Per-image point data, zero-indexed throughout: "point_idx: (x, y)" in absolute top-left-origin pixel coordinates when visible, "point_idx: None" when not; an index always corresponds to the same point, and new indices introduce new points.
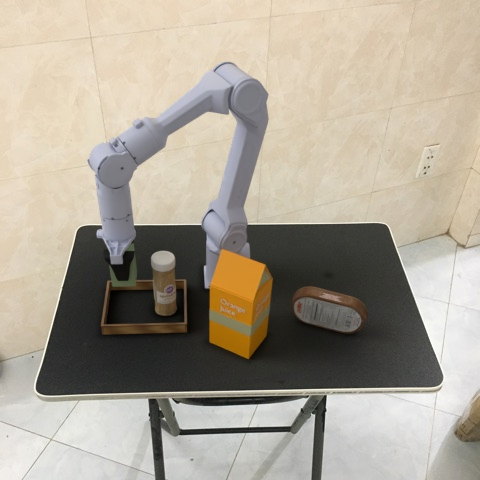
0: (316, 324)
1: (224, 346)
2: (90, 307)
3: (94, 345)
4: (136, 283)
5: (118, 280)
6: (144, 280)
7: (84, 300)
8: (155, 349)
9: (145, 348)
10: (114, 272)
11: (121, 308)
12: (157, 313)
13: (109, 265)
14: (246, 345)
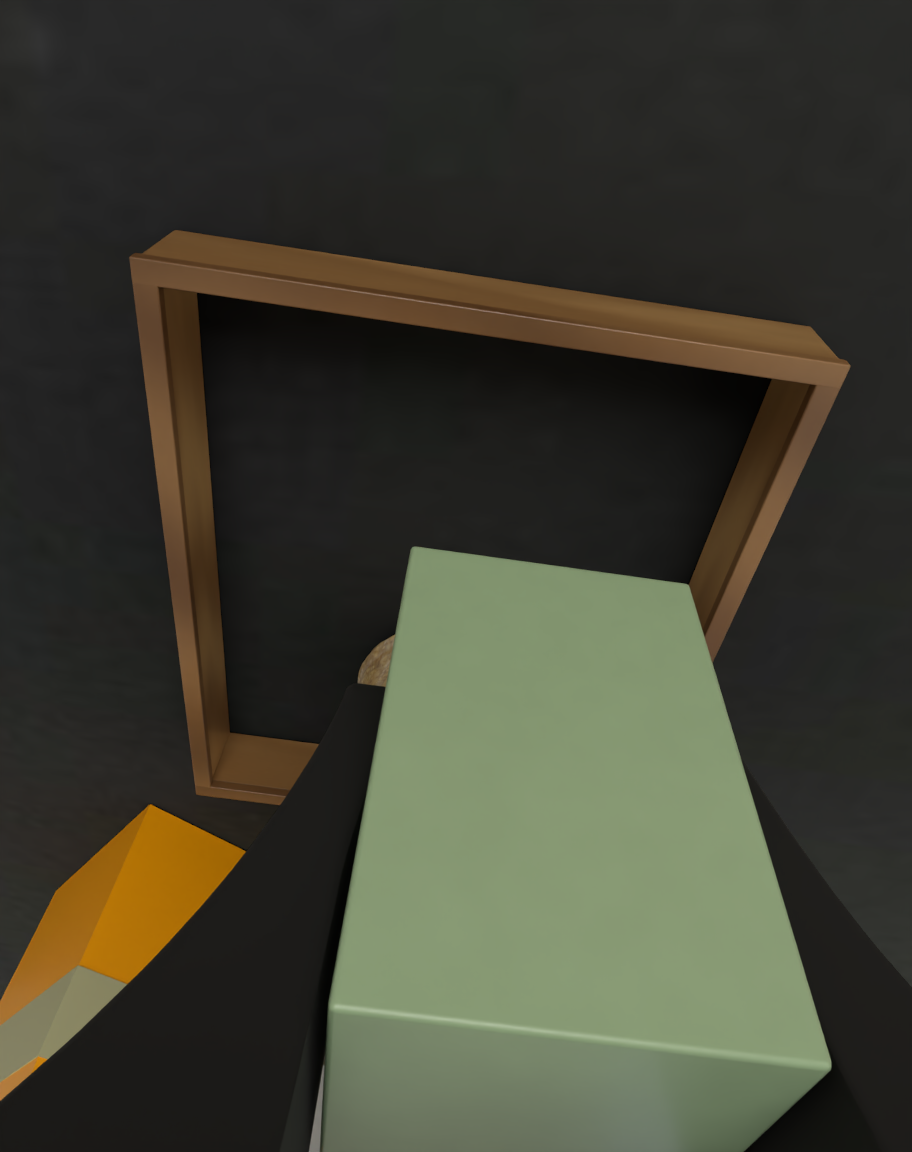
0: None
1: (103, 854)
2: (587, 114)
3: (26, 142)
4: (716, 587)
5: (346, 695)
6: (710, 653)
7: (729, 39)
8: (57, 581)
9: (57, 530)
10: (289, 798)
11: (504, 413)
12: (388, 639)
13: (361, 830)
14: (21, 965)
